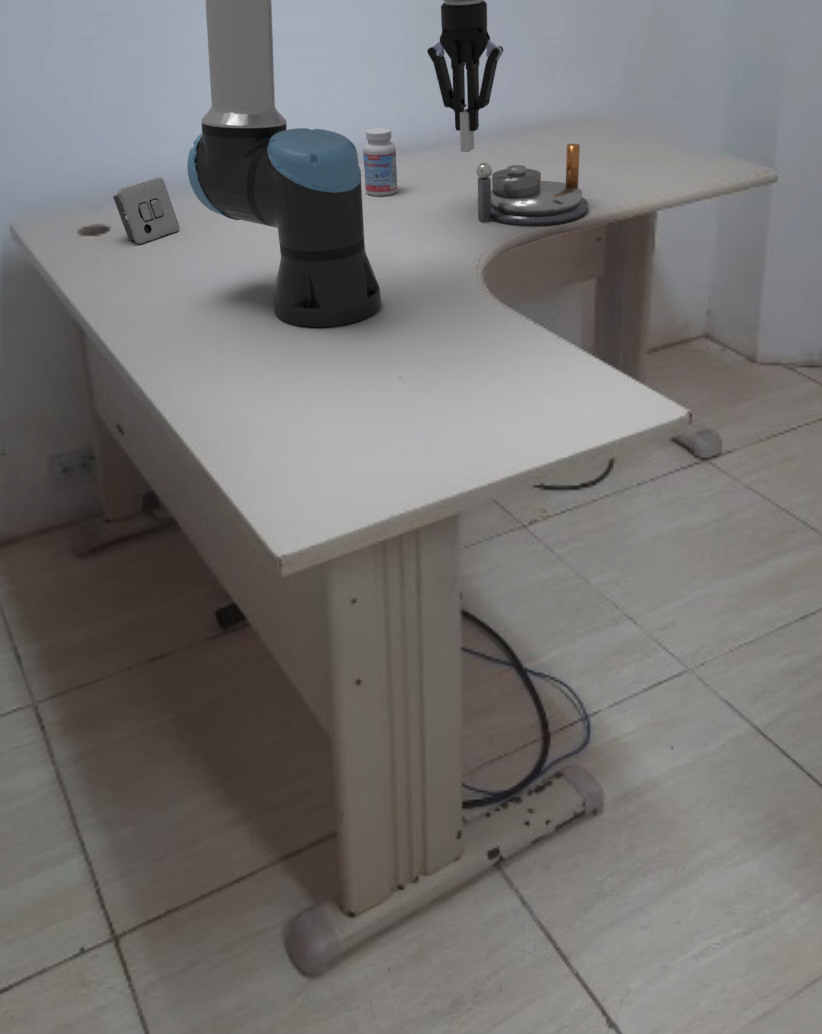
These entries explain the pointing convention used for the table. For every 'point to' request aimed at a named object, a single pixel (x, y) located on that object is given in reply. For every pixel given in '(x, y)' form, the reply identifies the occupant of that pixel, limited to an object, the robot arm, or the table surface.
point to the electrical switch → (146, 210)
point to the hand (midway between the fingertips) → (467, 149)
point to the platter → (548, 193)
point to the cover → (516, 182)
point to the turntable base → (540, 217)
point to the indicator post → (484, 192)
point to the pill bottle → (380, 163)
